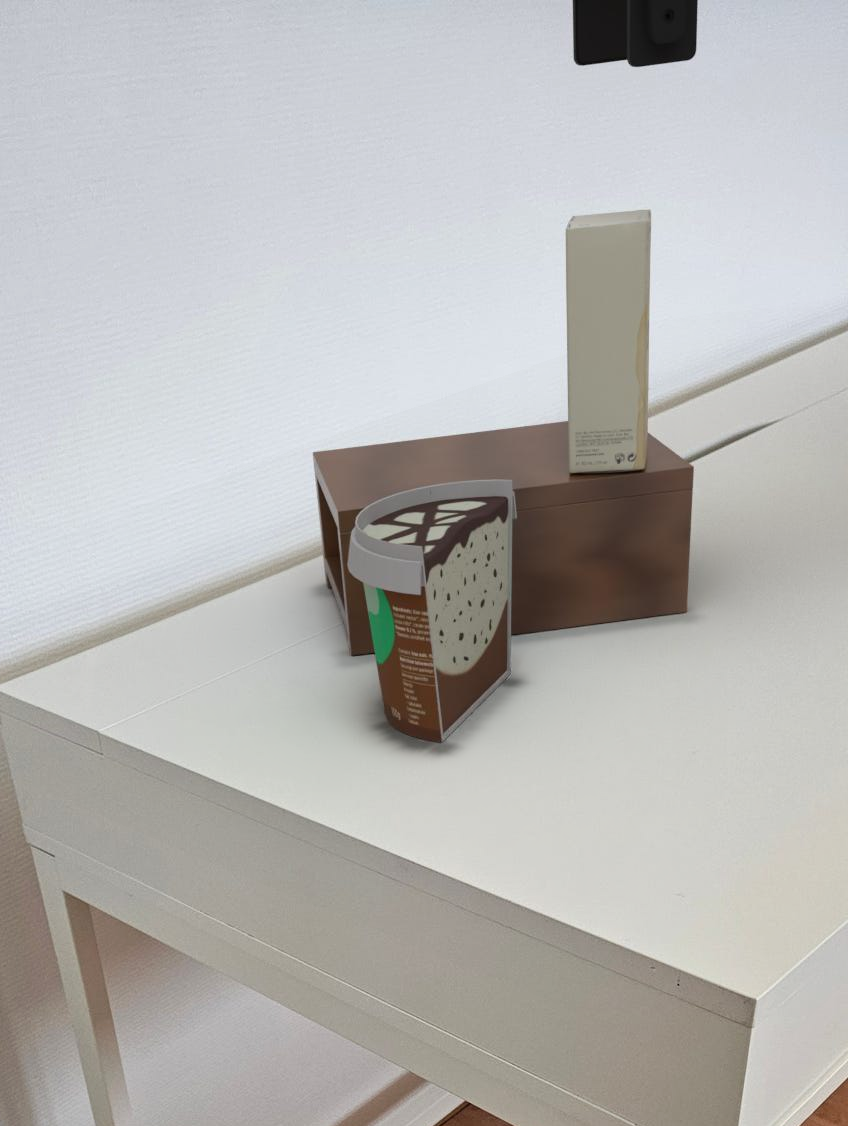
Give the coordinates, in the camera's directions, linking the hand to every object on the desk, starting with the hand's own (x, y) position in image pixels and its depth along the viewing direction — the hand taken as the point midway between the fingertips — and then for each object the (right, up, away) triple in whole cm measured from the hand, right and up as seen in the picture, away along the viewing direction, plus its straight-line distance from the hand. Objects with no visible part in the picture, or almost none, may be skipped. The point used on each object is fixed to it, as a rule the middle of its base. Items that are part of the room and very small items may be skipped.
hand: (631, 62), depth 70 cm
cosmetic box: (+1, -16, +10) cm, 19 cm away
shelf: (-5, -21, +17) cm, 28 cm away
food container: (-10, -31, +5) cm, 33 cm away
